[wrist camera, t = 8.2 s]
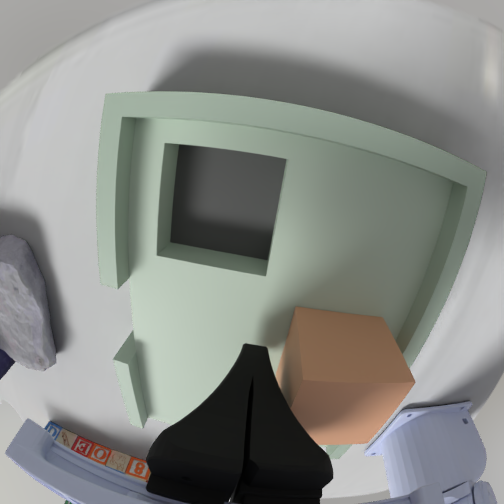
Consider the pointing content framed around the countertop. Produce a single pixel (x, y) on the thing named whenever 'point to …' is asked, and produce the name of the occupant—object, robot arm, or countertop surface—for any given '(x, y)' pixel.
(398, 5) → the countertop surface
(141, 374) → the board
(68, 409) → the countertop surface
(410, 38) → the countertop surface
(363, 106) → the countertop surface
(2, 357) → the flask
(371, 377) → the block
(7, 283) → the stone block
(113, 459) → the stack of blocks
